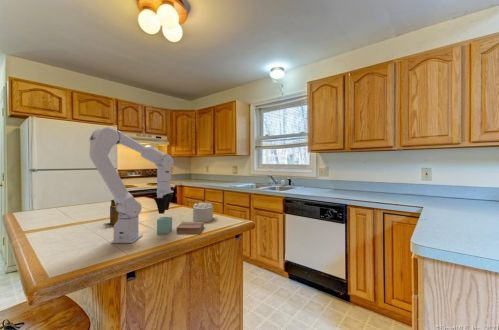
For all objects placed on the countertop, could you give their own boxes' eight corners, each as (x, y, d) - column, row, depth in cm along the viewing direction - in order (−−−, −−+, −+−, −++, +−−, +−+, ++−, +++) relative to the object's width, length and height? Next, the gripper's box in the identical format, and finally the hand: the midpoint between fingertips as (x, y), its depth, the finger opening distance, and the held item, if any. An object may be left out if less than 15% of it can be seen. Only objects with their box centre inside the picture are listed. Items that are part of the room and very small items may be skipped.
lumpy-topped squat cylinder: (213, 216, 134) (213, 201, 134) (212, 222, 121) (212, 205, 121) (194, 217, 133) (194, 201, 133) (191, 223, 120) (191, 205, 120)
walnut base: (199, 234, 102) (199, 227, 102) (176, 234, 102) (176, 227, 102) (203, 228, 112) (203, 221, 112) (182, 228, 112) (182, 221, 112)
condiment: (126, 224, 116) (126, 199, 116) (107, 227, 111) (107, 201, 110) (122, 221, 122) (122, 198, 122) (103, 224, 116) (103, 199, 116)
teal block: (168, 233, 102) (168, 219, 102) (156, 233, 102) (157, 219, 102) (172, 230, 107) (172, 216, 107) (160, 230, 107) (161, 216, 107)
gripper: (169, 182, 99) (169, 215, 99) (176, 179, 114) (176, 208, 114) (152, 182, 98) (151, 215, 99) (161, 179, 113) (160, 208, 113)
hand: (163, 211), depth 106 cm, fingers open, 7 cm apart
